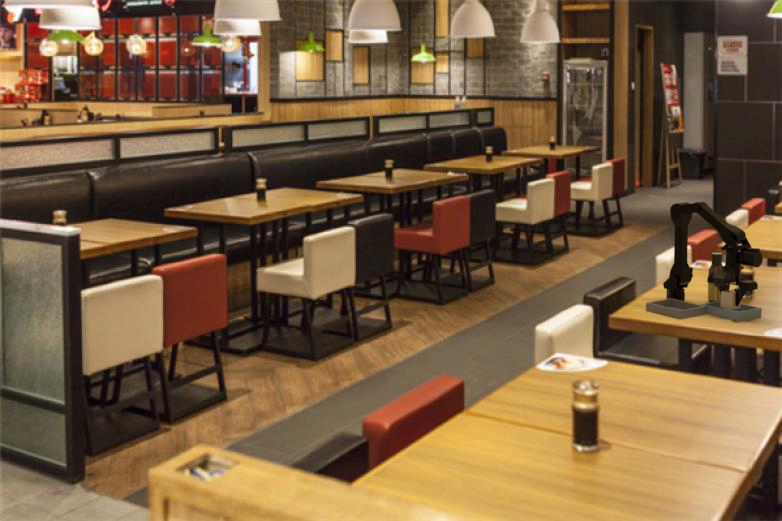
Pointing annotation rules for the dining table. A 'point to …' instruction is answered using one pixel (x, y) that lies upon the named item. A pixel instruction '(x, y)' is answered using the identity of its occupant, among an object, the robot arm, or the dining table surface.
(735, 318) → the bin
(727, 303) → the stone block
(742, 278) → the robot arm
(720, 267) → the sauce bottle
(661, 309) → the bin
